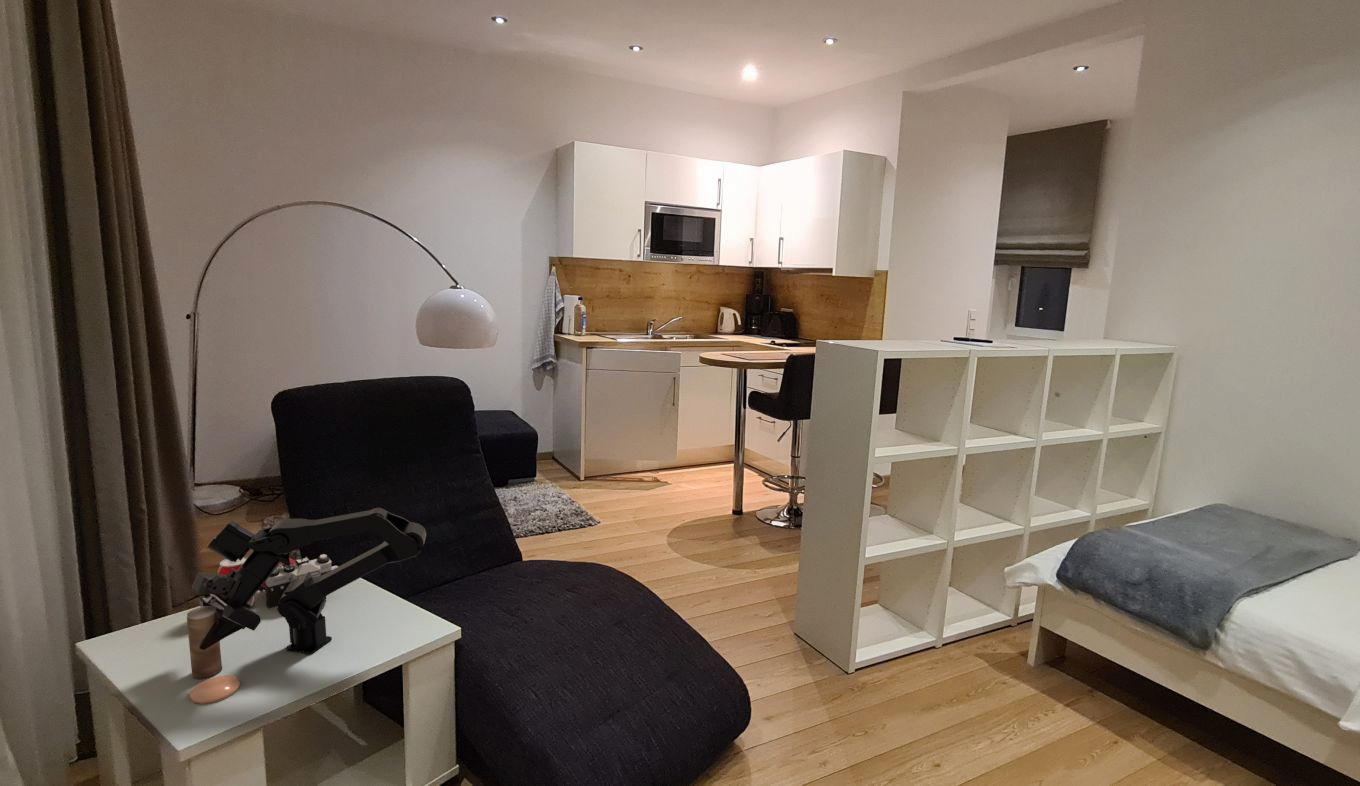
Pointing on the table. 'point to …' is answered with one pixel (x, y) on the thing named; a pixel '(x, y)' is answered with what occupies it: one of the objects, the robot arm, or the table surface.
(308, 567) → the camera
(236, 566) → the soda can
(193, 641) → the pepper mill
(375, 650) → the table surface
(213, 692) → the coaster
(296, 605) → the robot arm
